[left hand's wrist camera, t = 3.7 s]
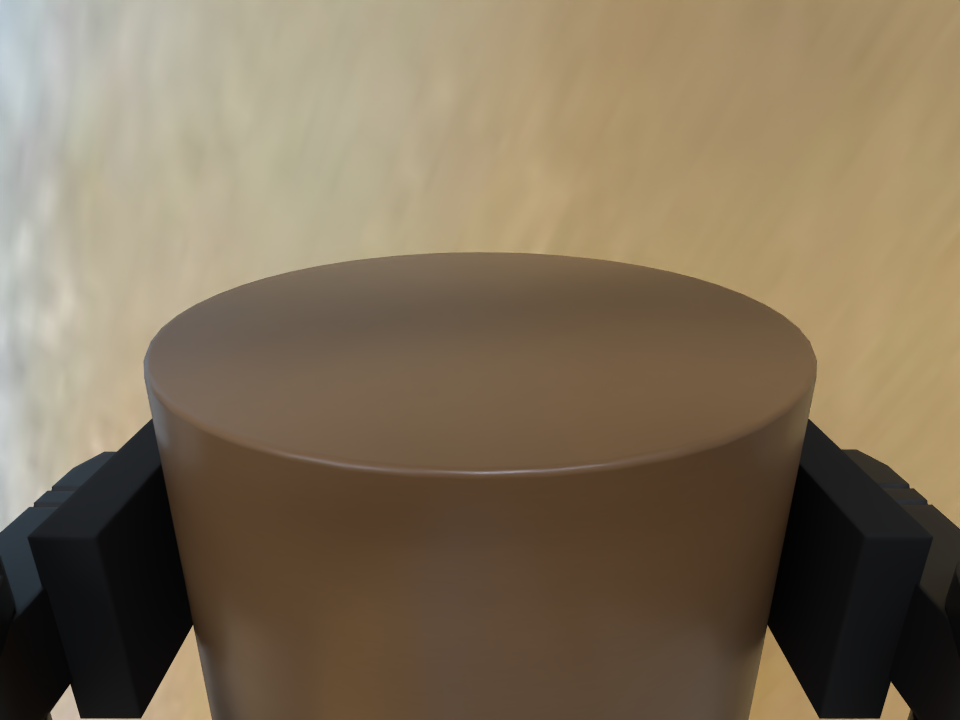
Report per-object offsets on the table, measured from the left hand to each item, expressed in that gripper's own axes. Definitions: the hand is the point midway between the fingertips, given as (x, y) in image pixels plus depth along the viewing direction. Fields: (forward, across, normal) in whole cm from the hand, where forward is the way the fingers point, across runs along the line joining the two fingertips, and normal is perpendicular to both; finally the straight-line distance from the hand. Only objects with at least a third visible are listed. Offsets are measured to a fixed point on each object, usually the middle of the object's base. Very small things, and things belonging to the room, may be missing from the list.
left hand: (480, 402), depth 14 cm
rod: (0, 0, -10) cm, 10 cm away
